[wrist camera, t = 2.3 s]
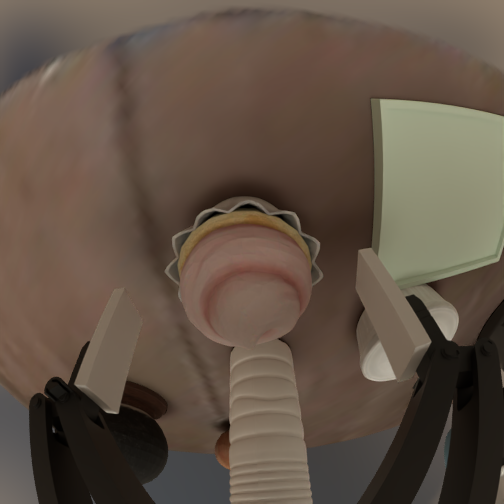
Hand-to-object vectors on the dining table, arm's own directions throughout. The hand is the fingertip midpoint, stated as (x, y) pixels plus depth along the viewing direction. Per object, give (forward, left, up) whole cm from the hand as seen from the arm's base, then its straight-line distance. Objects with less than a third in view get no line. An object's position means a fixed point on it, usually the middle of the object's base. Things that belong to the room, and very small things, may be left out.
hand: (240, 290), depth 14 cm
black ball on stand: (+22, +24, -7) cm, 33 cm away
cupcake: (0, 0, -7) cm, 7 cm away
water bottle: (+2, +14, -7) cm, 16 cm away
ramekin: (-14, +12, -7) cm, 20 cm away
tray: (-19, -1, -6) cm, 20 cm away
